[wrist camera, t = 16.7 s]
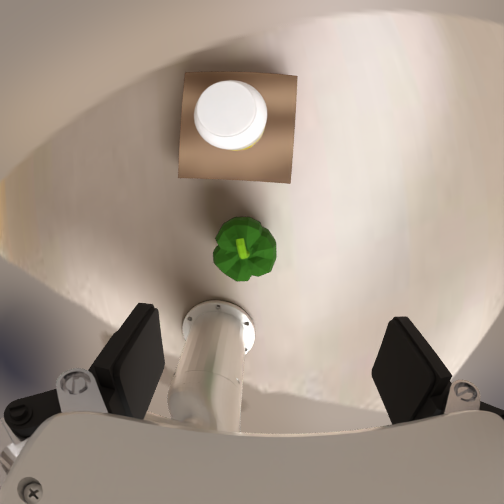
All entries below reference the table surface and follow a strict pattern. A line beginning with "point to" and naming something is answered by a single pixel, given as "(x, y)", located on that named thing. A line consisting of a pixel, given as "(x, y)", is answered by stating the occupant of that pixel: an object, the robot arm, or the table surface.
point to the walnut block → (254, 158)
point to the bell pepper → (244, 249)
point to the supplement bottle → (231, 115)
